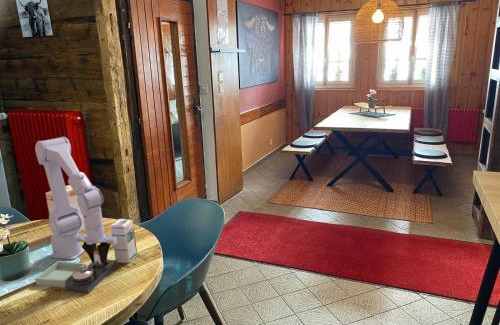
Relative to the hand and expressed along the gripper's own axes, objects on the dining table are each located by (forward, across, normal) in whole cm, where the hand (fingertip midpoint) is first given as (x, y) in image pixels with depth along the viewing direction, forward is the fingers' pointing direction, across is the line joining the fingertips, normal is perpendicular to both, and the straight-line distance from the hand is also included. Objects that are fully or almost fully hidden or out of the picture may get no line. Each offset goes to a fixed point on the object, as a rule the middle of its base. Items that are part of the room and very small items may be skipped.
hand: (99, 261), depth 131 cm
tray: (+3, -10, -6) cm, 13 cm away
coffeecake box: (+4, -30, +27) cm, 41 cm away
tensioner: (+3, 0, -4) cm, 6 cm away
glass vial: (+3, 0, 0) cm, 3 cm away
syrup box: (+4, +5, +9) cm, 11 cm away
